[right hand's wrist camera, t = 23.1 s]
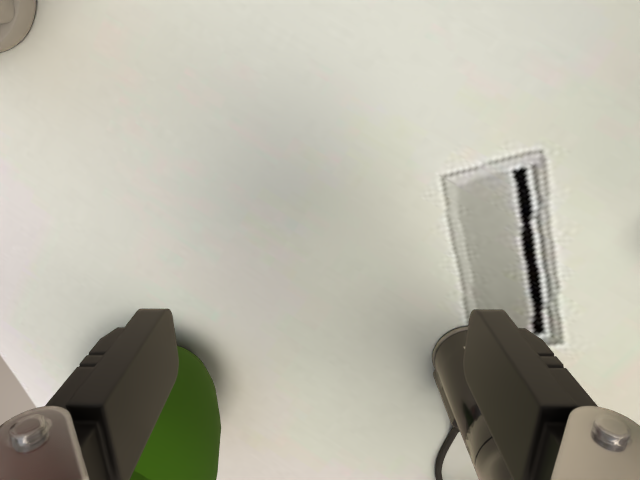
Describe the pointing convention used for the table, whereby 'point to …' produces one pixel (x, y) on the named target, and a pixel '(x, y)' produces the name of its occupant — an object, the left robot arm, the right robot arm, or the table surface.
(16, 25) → the bust sculpture
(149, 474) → the vase
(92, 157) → the table surface
